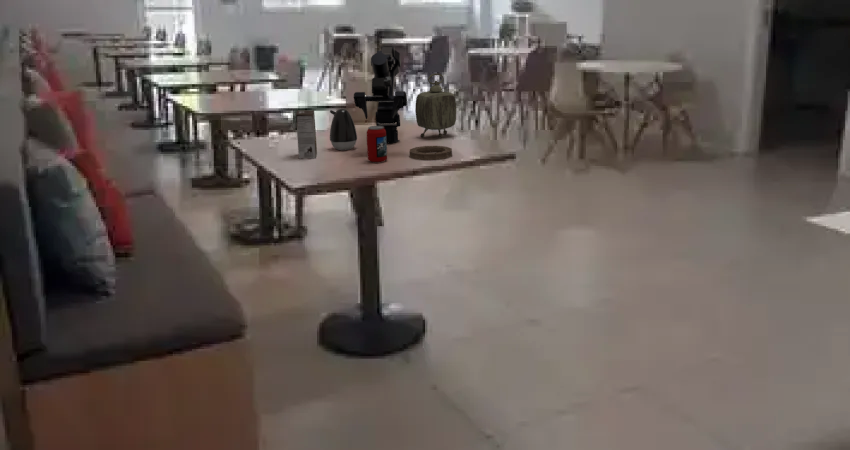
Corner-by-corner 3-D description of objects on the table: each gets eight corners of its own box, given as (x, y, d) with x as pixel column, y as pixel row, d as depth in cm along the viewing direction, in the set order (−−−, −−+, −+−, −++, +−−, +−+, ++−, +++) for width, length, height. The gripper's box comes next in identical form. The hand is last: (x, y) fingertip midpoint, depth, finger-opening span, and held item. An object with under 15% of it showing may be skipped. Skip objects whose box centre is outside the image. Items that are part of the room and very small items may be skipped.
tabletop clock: (446, 133, 334) (445, 71, 327) (459, 136, 327) (458, 73, 319) (416, 137, 327) (414, 74, 320) (427, 141, 319) (426, 76, 312)
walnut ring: (401, 157, 291) (401, 152, 291) (424, 149, 303) (424, 144, 303) (437, 161, 284) (437, 155, 283) (459, 153, 296) (459, 147, 295)
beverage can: (384, 163, 283) (383, 129, 279) (365, 163, 284) (363, 128, 281) (389, 159, 289) (387, 125, 286) (370, 158, 291) (369, 125, 287)
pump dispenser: (339, 145, 315) (337, 105, 311) (362, 147, 311) (360, 107, 306) (324, 150, 307) (322, 109, 302) (348, 152, 302) (345, 111, 298)
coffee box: (299, 153, 302) (296, 110, 297) (317, 153, 302) (314, 109, 298) (298, 159, 293) (295, 114, 289) (316, 158, 294) (313, 113, 289)
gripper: (352, 69, 291) (349, 104, 284) (405, 68, 290) (403, 104, 283) (357, 88, 301) (354, 123, 294) (407, 87, 300) (406, 123, 293)
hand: (379, 118), depth 290 cm, fingers open, 9 cm apart
